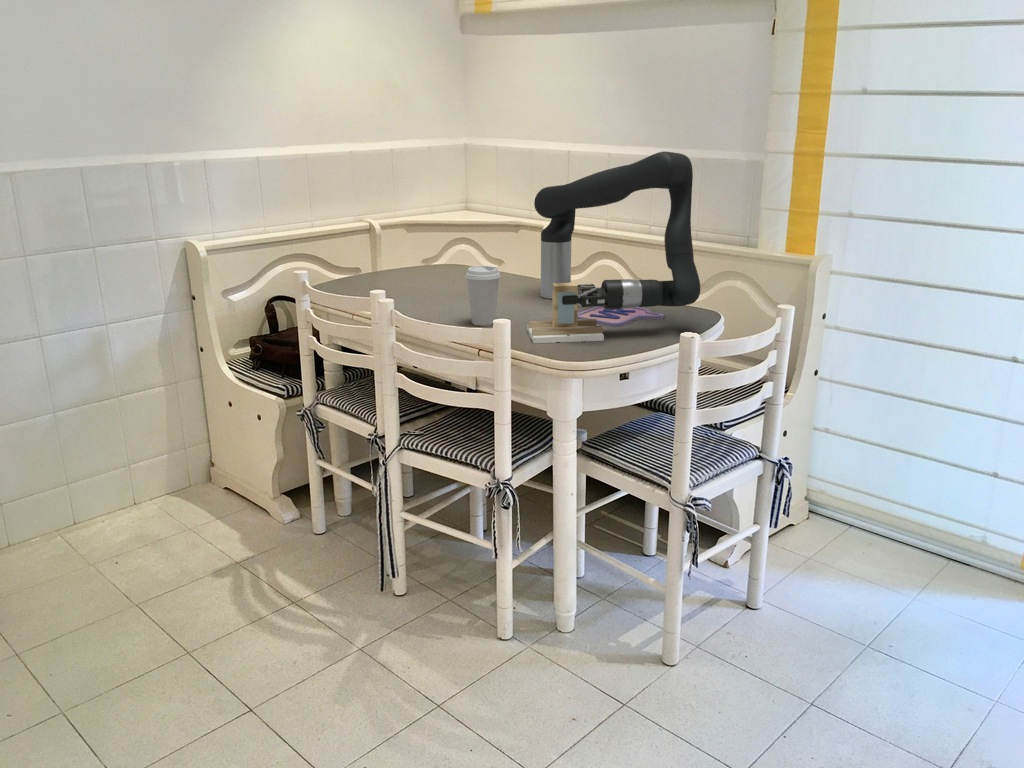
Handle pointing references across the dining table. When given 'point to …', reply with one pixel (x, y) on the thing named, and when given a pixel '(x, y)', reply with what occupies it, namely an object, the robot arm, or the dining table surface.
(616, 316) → the icon
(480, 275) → the coffee cup
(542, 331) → the ledge
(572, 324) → the wooden block
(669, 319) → the dining table surface
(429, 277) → the dining table surface
